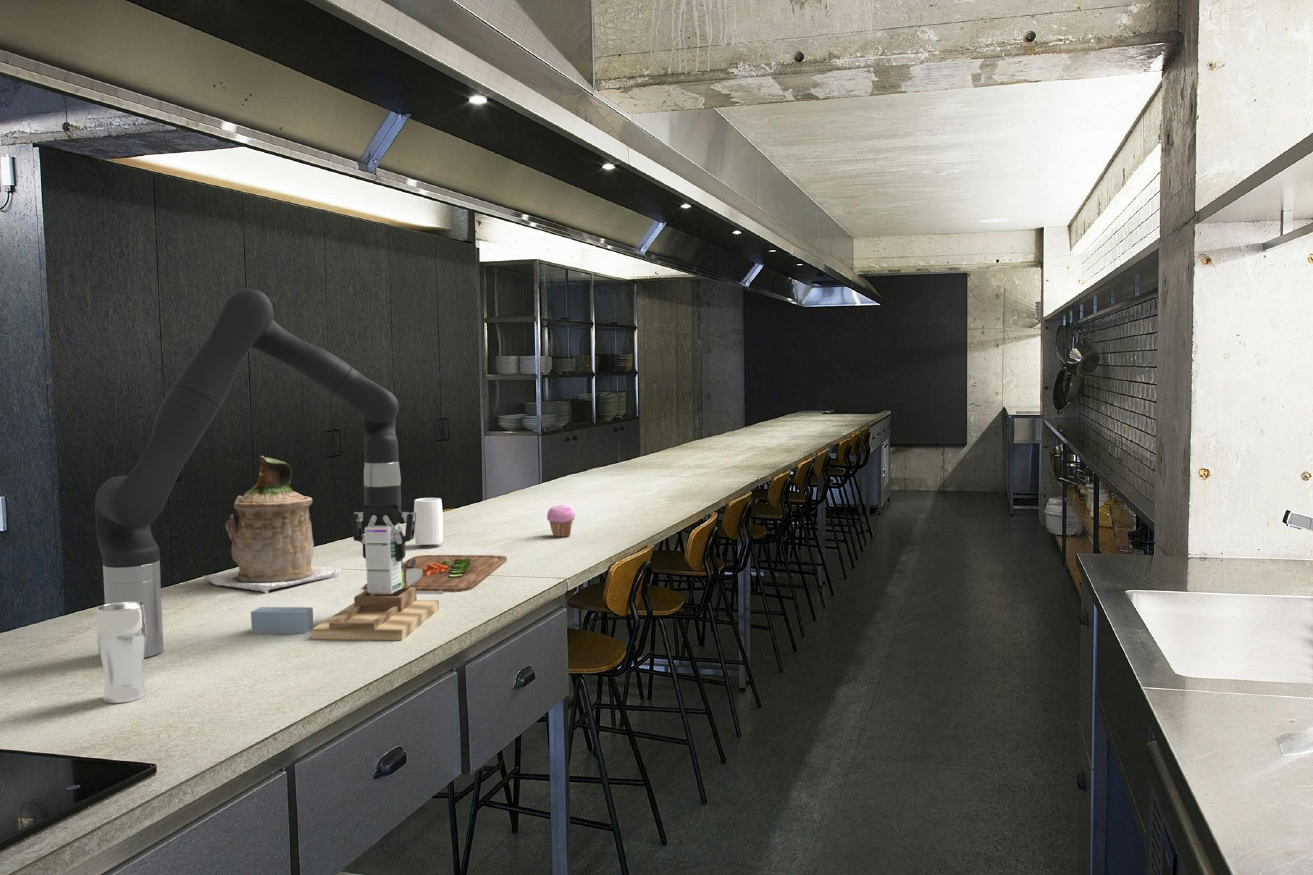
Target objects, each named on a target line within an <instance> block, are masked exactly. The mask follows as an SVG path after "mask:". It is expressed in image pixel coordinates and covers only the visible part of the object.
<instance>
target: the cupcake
mask: <svg viewBox="0 0 1313 875" xmlns="http://www.w3.org/2000/svg"><path fill="white" fill-rule="evenodd" d="M575 518H576V513H575V512H574V511H573V510H572V507H571V506H568V505H563V504H560V505H556V506H552V507H550V509H549V510H548V511H547V514H546V519H547V521H548V522H549V525H550V529H551V532H552V535H553V536H555V537H557V538H562V537H569V536H571V532H572V524H573V521H574V520H575Z"/></svg>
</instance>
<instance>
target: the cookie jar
mask: <svg viewBox="0 0 1313 875" xmlns="http://www.w3.org/2000/svg"><path fill="white" fill-rule="evenodd" d="M259 461H260V465H259V471H258V478H257V483H256V484H255V485H253V487H252V488H251V489H250V490H247V491H246V492H245V493H244V494H243V496H242V495H238V496H237V497H236V498H235V501H234V503H233V509H234V510H235V512H236V514H233V513H232V514H230V515H229V519H228V520H227V521H226V523H225V525H224V526H225V530H226V532H227V535H228V538H229V540H230V541H231V558H232V560H233V561H234V562H235V563H236V565H237V566H238V569H239V570H235V571H229V572H225V573H220V574H212V575H211V574H209V575H202V576H201V577H202V578H203V579H204V580H206V581H209V582H210V583H211V584H213V585H214V586H223V587H228V588H229V587H230V588H237V589H244V590H250V591H257V592H262V593H264V594H266V593H267V594H269V591H271V590H275V589H279V588H281V589H282V588H284V587H285V588H286V587H291V586H294V585H295V586H296V585H299V584H304V583H307V582H308V583H309V582H312V581H319V580H323V579H333V578H337V577H339V576H340V574H341V572H342V569H341V568H337V567H335V568H333V567H322V566H321V567H320V566H312V558H313V555H314V547H315V546H314V545H315V542H314V538H313V529H312V522H311V518H310V511H309V510H310V509H309V508H310V506H311V505H312V504H313V498H312V497H311V496H308V495H307V496H304V495H302V494H301V493H299V492H296V491H294V490H293V489H292V488H291V487H290V485H291V481H292V478H293V474H292V467H291V466H290V464H289V463H287V462H285V461H282V460H279V459H276V458H271V457H265V456H263V455H260V456H259Z"/></svg>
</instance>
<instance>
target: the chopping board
mask: <svg viewBox="0 0 1313 875" xmlns="http://www.w3.org/2000/svg"><path fill="white" fill-rule="evenodd" d="M507 561H508V557H507V556H505V555H493V554H421V555H416V556H413V557H410V558H409V559H407V560H406V561H403V582H404V587H416V595H420V594H422V595H444V594H445V592H446V593H447V592H451V593H453V592H455V593H456V592H459V593H460V592H468V591H471V590H473V589H475V587H477V586H478V585H479V584H481V583H482V582H483V581H484V580H485V579H487V578H488V577H489V576H491V574H492V573H494V572H495V571H496V570H498V569H499V568H500V567H501V566H502V565H503V564H505V563H506V562H507ZM363 589H364V591H365V590H367V583H365V584H364V585H363Z"/></svg>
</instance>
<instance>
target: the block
mask: <svg viewBox="0 0 1313 875" xmlns="http://www.w3.org/2000/svg"><path fill="white" fill-rule="evenodd" d="M250 621H251V622H250V624H251V633H252V634H306V633H308V632H309V630H310V631H312V629H313V628H314V608H313V607H312V606H311V607H310V606H309V607H307V606H306V607H304V606H303V607H299V606H283V607H282V606H281V607H280V606H277V607H276V606H260V607H258V608H256V609H254V610H252V611H250Z"/></svg>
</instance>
